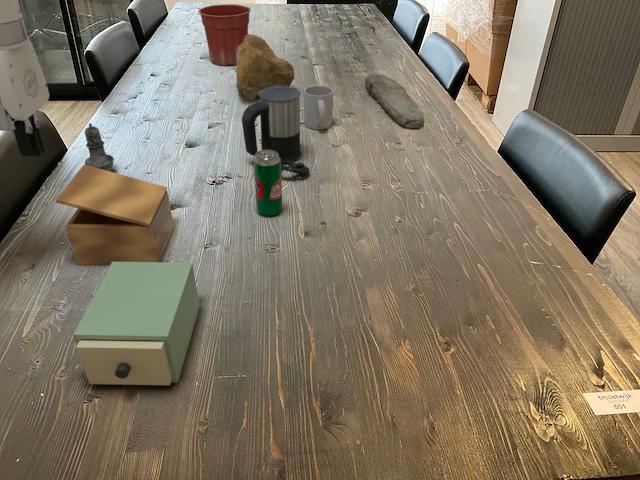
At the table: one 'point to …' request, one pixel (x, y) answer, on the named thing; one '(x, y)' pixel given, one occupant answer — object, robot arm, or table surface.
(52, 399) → the table surface
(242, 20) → the flower pot
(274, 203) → the soda can
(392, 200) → the table surface
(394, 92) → the elongated rock
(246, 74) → the jagged brown rock
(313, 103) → the cup
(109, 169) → the grey chess piece
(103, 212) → the lid
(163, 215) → the chest
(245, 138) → the milk frother
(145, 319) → the cabinet
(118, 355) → the drawer
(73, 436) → the table surface
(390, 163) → the table surface
